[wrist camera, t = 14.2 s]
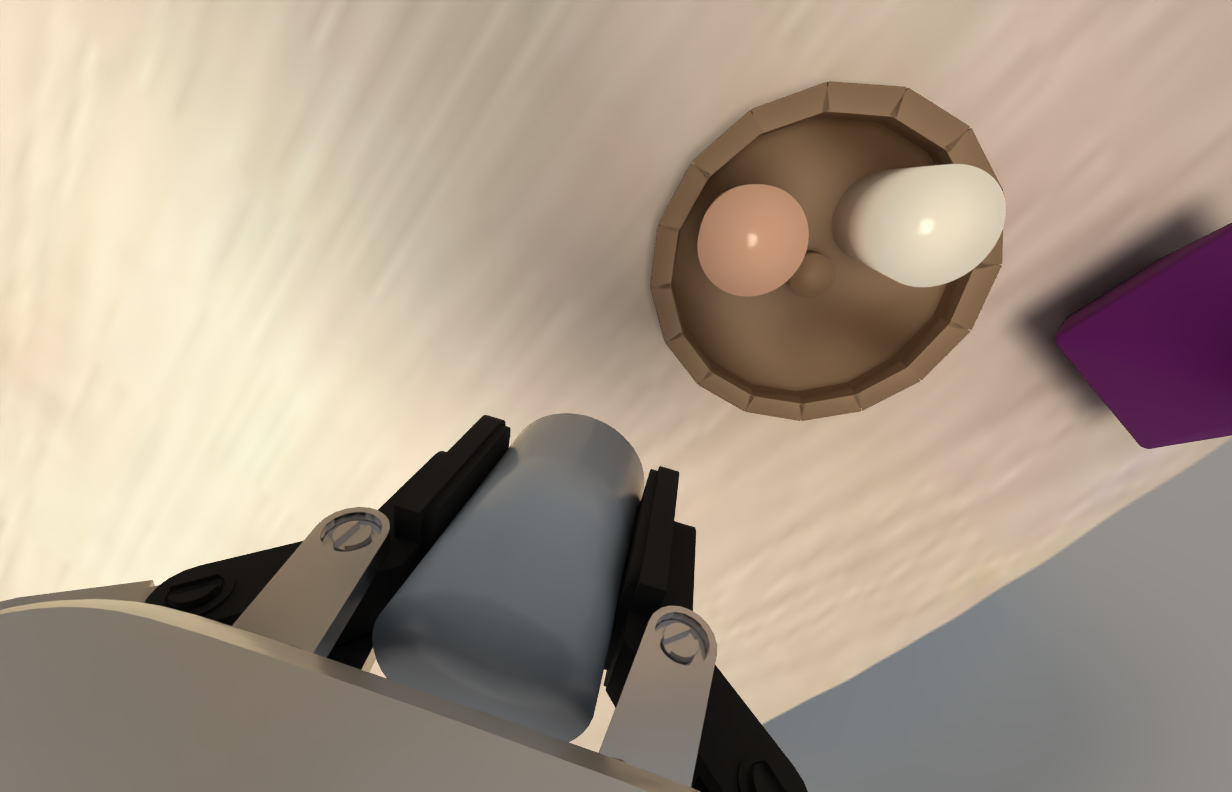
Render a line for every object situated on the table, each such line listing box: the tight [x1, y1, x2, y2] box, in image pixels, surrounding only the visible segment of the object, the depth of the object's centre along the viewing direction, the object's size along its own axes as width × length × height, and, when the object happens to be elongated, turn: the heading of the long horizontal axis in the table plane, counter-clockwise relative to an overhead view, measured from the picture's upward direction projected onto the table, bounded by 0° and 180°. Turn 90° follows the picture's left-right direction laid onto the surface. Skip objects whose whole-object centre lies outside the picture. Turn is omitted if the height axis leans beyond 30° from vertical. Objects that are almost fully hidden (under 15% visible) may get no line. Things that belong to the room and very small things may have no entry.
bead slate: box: [372, 413, 644, 742], centre depth 10 cm, size 4×4×6 cm
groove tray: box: [650, 82, 1004, 421], centre depth 22 cm, size 15×15×2 cm
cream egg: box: [832, 164, 1006, 287], centre depth 18 cm, size 4×4×6 cm
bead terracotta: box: [697, 184, 809, 297], centre depth 19 cm, size 4×4×6 cm
